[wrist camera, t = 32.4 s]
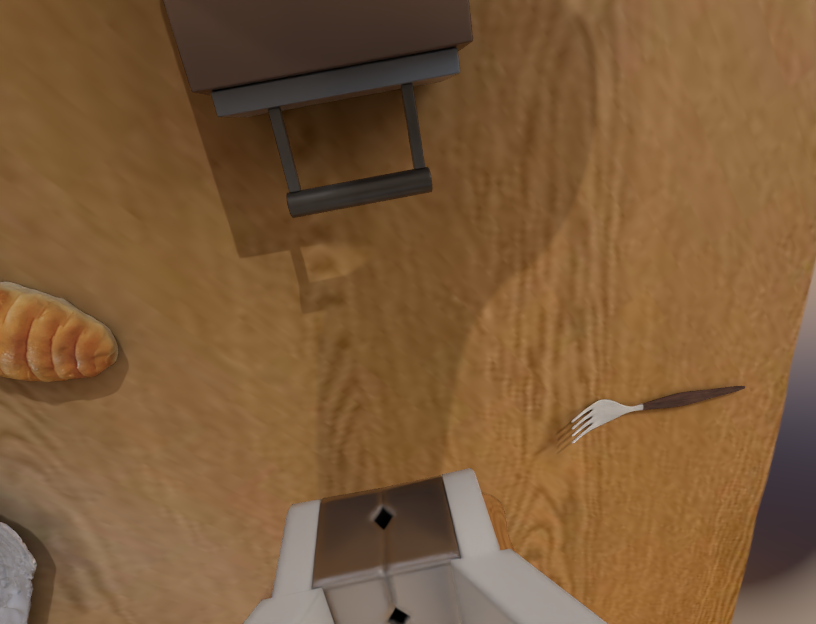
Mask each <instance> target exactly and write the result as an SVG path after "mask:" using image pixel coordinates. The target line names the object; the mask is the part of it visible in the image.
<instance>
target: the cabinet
mask: <svg viewBox="0 0 816 624" xmlns="http://www.w3.org/2000/svg"><path fill="white" fill-rule="evenodd" d="M163 2H164V5H165V8H166V12H167V15H168V18H169V21H170V24H171V27H172V31H173V34H174V37H175V40H176V43H177V46H178V50H179V53H180V56H181V59H182V62H183V65H184V69H185V72H186V75H187V78H188V81H189V84H190V88H191V91H192V92H195V93H201V94H207V95H211V92H212V91H216V90H221V89H227V88H232V87H238V86H243V85H249V84H254V83H260V82H265V81H271V80H276V79H282V78H287V77H293V76H298V75H304V74H309V73H315V72H320V71H326V70H331V69H337V68H343V67H348V66H354V65H359V64H365V63H370V62H376V61H381V60H387V59H392V58H398V57H403V56H409V55H414V54H420V53H425V52H431V51H436V50H442V49H447V48H453V47H457V49H458V51H459V50H461V49H462V48H464V47H465V46H467V45H468V44H469V43H471V42H472V41H473V35H472V25H471V15H470V6H469V0H163Z"/></svg>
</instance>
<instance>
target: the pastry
mask: <svg viewBox="0 0 816 624" xmlns="http://www.w3.org/2000/svg"><path fill="white" fill-rule="evenodd" d="M117 356H118V345H117V342H116V340H115V338H114V336H113V334H112V332H111V330H110V329H109V328H108V327H107V326H105V325H104V324H103V322H99V321H97V320H95V318H94V317H93V316H91V315H87V314H85V313H83V312H82V311H80V310H79V309H77V308H75V306H74V305H73V304H72V303H70V302H68V301H66V300H65V299H63V298H57V297H54V296H52V295H50V294H47V293H43V292H40V291H38V290H35V289H29V288H26V287H23V286H21V285H18V284H15V283H11V282H0V376H2V377H5V378H13V379H17V380H27V381H45V382H51V381H55V380H56V381H65V380H67V379H71V378H85V377H94V376H96V375H98V374H99V373H101V372H102V371H103V370H105V369H106V368H107V367H109V366H111V365H113V364H114V363H115V362H116V360H117Z"/></svg>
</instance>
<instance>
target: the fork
mask: <svg viewBox="0 0 816 624" xmlns="http://www.w3.org/2000/svg"><path fill="white" fill-rule="evenodd" d="M744 388H745V386H734V387H725V388H718V389H710V390H700V391H690V392H682V393H678V394H674V395H670V396H667V397H663V398H660V399H657V400H653V401H650V402H647V403H644V404H640V405H637V406H625V405H622V404H619V403H617V402H614V401H611V400H606V399H603V400H599V401H597V402H595V403H593V404H592V405H590V406H589V407H588V408H586V409H585V410H584V411H582V412H581V413H580V414H579V415H578V416H576V417H575V418H574V419H573V420H572V421H571V422H572V423H573V422H574V421H575V420H577V419H578V418H579V417H581V416H582V415H583V414H585V413H586V412H588V411H589V410H591V409H592V411H591V412H590V413H589V414H587V415H586V416H585V417H584V418H582V419H581V420H580V421H579V422H578V423H577V424H575V425H574V426H573V427H572V428H571V429H574V428H576V427H577V426H578V425H579V424H581V423H582V422H583V421H585V420H586V419H588V418H589V417H591V416H592V418H591V419H590V420H589V421H587V422H586V423H585V424H584V425H582V426H581V427H580V428H579V429H578V430H577V431H576V432H574V433H573V434H572V436H575V435H576V434H577V433H578V432H579V431H581V430H582V429H583V428H585V427H586V426H587V425H589V424H591V423H592V425H591V426H590V427H588V428H587V429H586V430H585V431H583V432H582V433H581V434H580V435H579V436H578V437H577V438H576V439H574V440H573V441H572V443H575V442H576V441H577V440H578V439H579V438H581V437H582V436H583V435H584V434H586V433H587V432H589V431H590V430H592V429H594V428H596V427H598V426H600V425H603V424H605V423H607V422H609V421H611V420H613V419H615V418H617V417H619V416H621V415H623V414H626V413H628V412H632V411H637V410H647V409H659V408H670V407H678V406H684V405H688V404H692V403H696V402H699V401H703V400H706V399H710V398H713V397H717V396H721V395H725V394H728V393H732V392H736V391H739V390H742V389H744Z"/></svg>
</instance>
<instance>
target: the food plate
mask: <svg viewBox="0 0 816 624" xmlns="http://www.w3.org/2000/svg"><path fill="white" fill-rule="evenodd" d="M29 551H30V550H28V547H26V545H25V543H23V542H22V539H21V537H19V535H18V534H17V533H16V532H15V531H14V530H12V529H11V528H10V527H9V526H8V525H7V524H5V523H2V522H0V624H27V623H28V617H29V612H30V608H31V602H30V601H31V595H32V591H33V589H34V588H33V587H32V582H31V581H30V580H32V579H33V577H34V573H35V571H36V567H37V563H36V561H35V558H34V557H33V556H32V554H31V553H30V552H29ZM32 572H33V576H32Z"/></svg>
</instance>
